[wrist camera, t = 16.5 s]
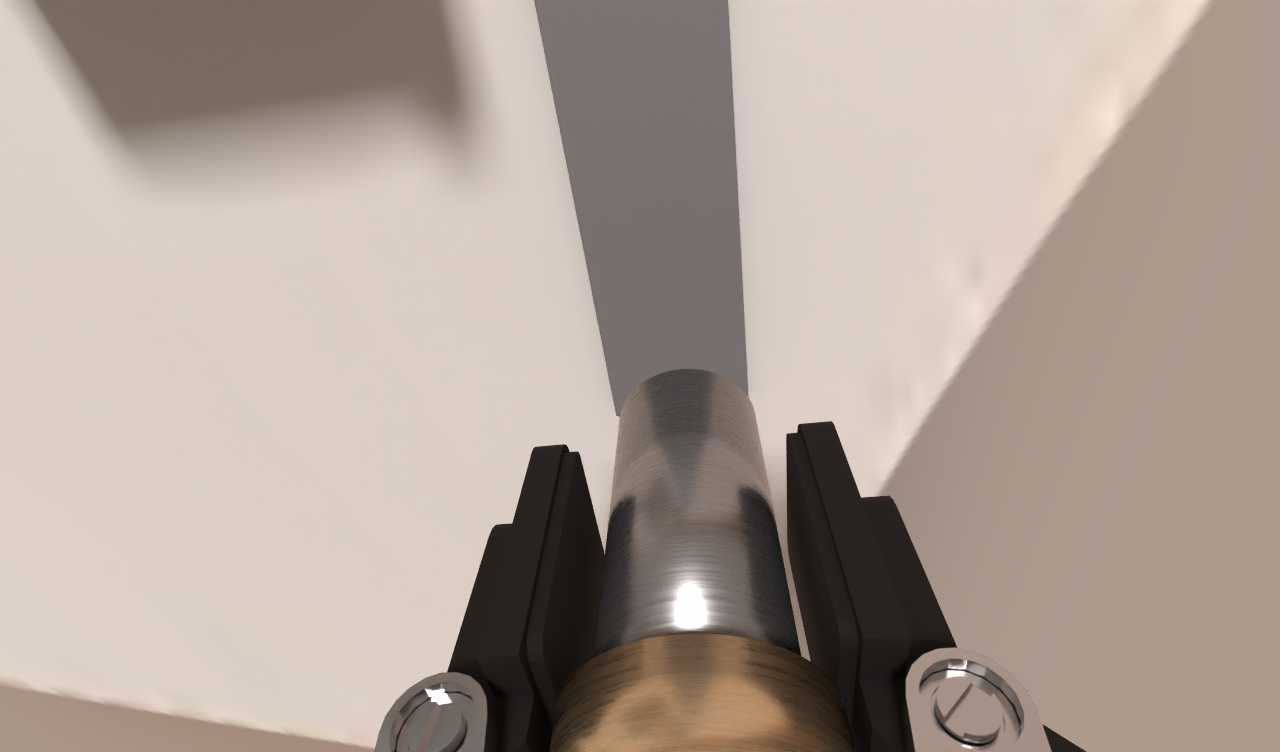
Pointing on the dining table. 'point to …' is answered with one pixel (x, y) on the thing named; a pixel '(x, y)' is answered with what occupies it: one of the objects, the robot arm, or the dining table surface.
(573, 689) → the knob
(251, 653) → the dining table surface
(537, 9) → the strip
